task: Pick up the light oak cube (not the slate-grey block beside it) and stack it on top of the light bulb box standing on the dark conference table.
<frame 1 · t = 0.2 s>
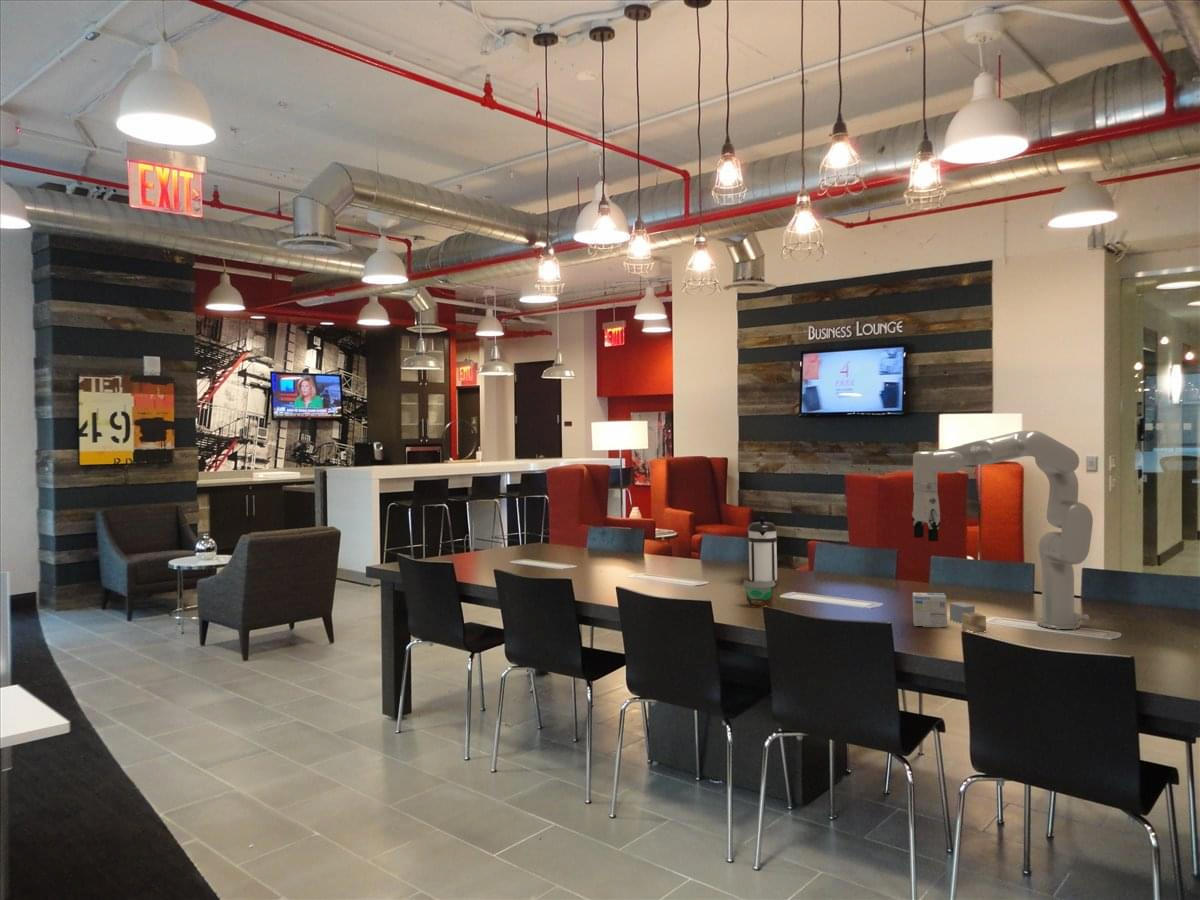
hand: (925, 539, 280), 30 cm above the table, tool pointing down, fingers open, 9 cm apart
food container: (759, 607, 323), on the table
oak cube: (973, 630, 278), on the table
light bulb box: (929, 625, 287), on the table
coffee press: (762, 584, 370), on the table
slate block: (962, 621, 291), on the table
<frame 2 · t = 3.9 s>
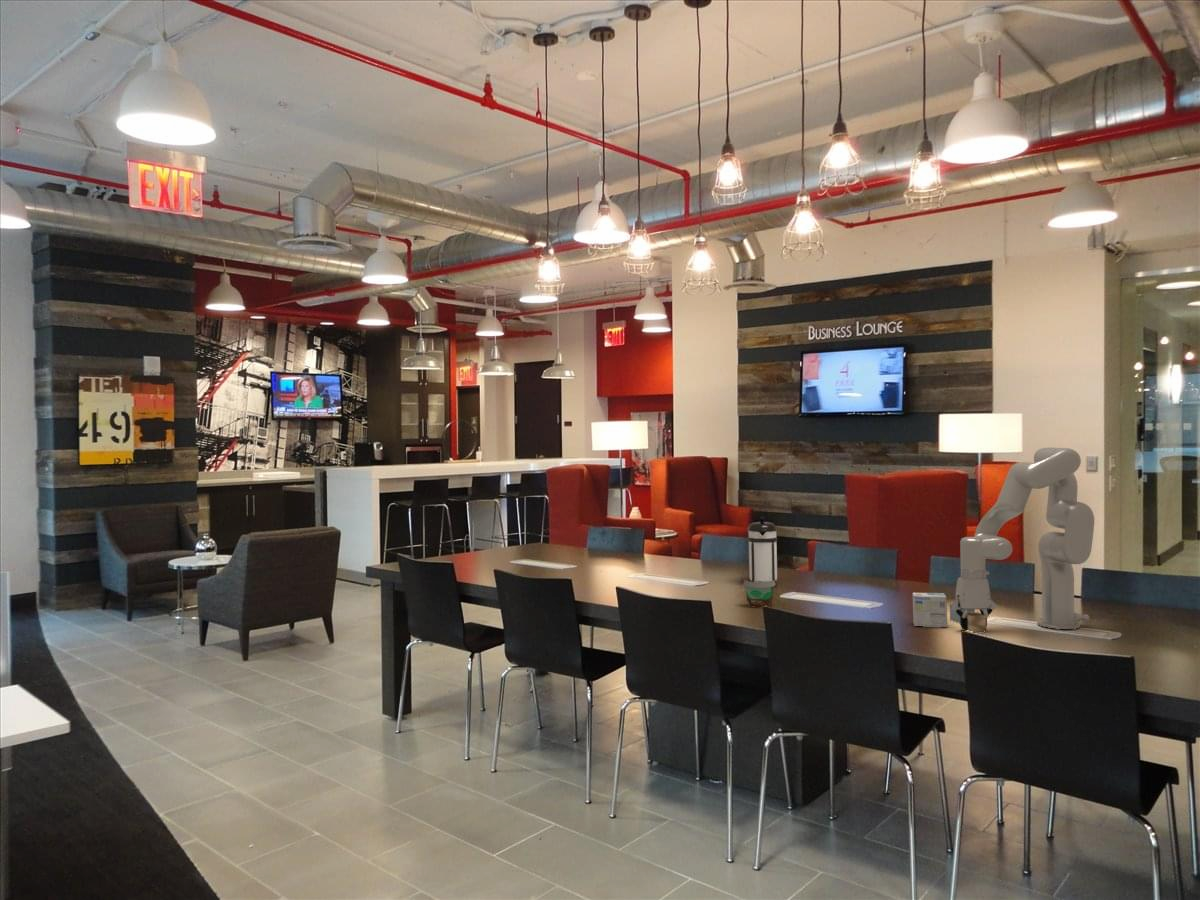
hand: (973, 628, 278), 1 cm above the table, tool pointing down, fingers closed on oak cube, 5 cm apart
oak cube: (973, 630, 278), on the table, touching gripper
everything else where it was.
when the fingers open (13 cm above the table, at t = 8.6 s): oak cube drops 2 cm, resting on light bulb box.
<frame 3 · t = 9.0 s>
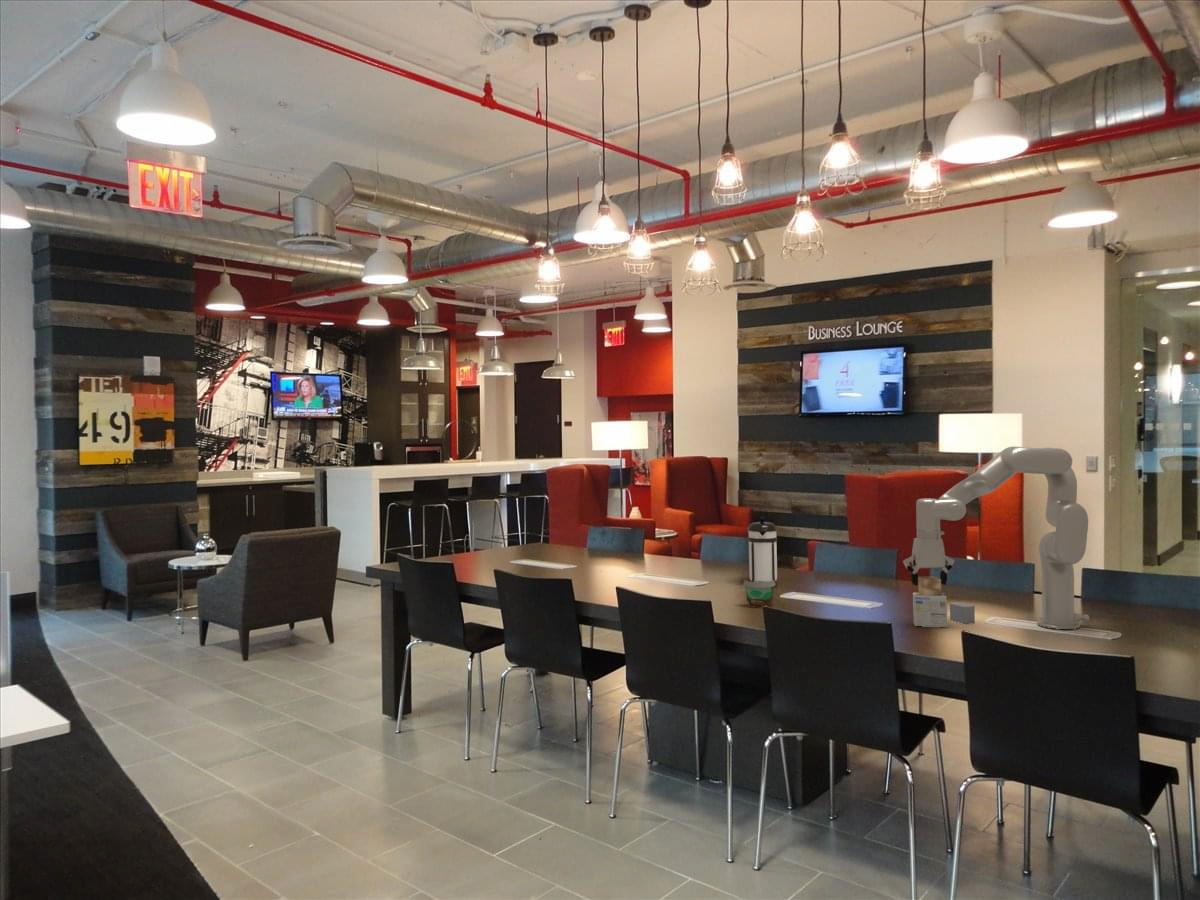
hand: (929, 584, 286), 14 cm above the table, tool pointing down, fingers open, 9 cm apart
oak cube: (929, 594, 286), point 11 cm above the table, touching light bulb box
light bulb box: (930, 626, 286), on the table, touching oak cube
everything else where it was.
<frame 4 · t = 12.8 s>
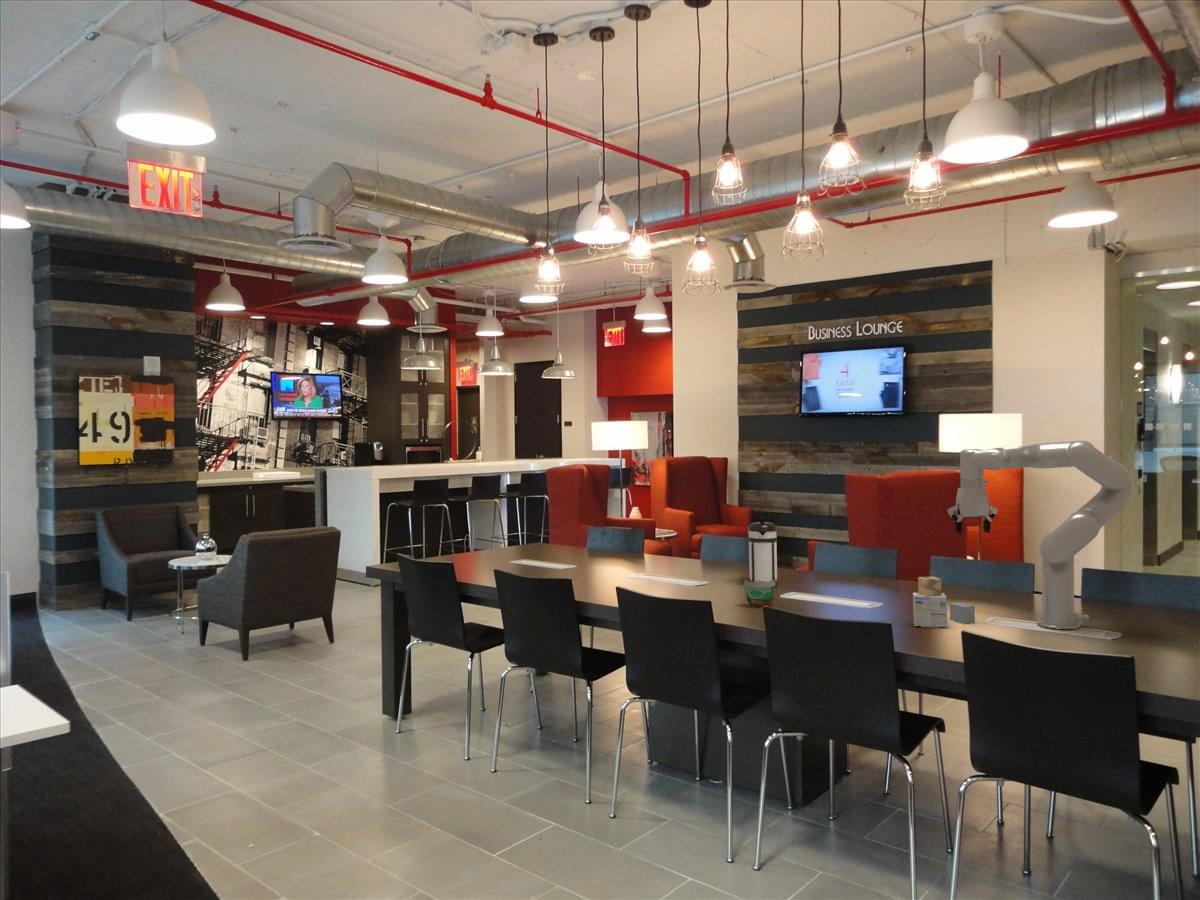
hand: (972, 532, 294), 30 cm above the table, tool pointing down, fingers open, 9 cm apart
nothing on the table moved.
at the end: oak cube inside the target area on the light bulb box (0.0 cm from its centre), point 11.0 cm above the light bulb box's base; oak cube touching light bulb box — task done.
